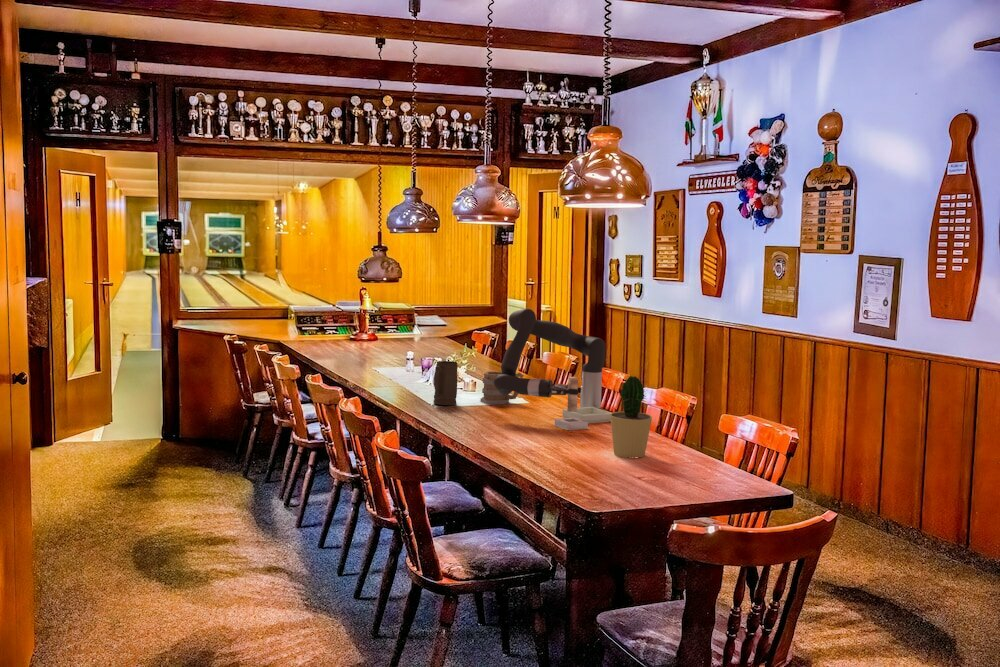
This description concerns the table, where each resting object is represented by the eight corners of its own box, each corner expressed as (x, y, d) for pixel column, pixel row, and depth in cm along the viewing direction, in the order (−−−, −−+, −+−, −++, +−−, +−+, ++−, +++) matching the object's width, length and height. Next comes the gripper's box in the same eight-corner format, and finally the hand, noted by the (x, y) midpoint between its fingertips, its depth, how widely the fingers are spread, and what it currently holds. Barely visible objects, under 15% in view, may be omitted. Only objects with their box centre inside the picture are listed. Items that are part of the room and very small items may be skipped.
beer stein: (439, 401, 441) (440, 359, 439) (460, 403, 438) (461, 361, 436) (426, 406, 427) (427, 363, 425) (447, 408, 423) (449, 365, 421)
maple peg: (565, 410, 391) (566, 377, 389) (573, 409, 393) (574, 376, 391) (570, 412, 388) (572, 378, 386) (578, 411, 390) (580, 378, 388)
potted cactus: (601, 451, 350) (604, 371, 346) (637, 448, 355) (641, 371, 352) (620, 460, 335) (624, 378, 332) (657, 458, 341) (662, 377, 337)
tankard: (478, 403, 440) (478, 371, 438) (486, 398, 452) (487, 368, 450) (518, 406, 434) (519, 374, 433) (525, 402, 446) (526, 371, 445)
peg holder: (554, 425, 393) (554, 418, 392) (574, 424, 398) (574, 417, 397) (567, 430, 384) (567, 423, 384) (587, 428, 389) (587, 421, 389)
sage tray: (562, 416, 413) (562, 409, 412) (592, 414, 420) (592, 406, 420) (583, 423, 399) (583, 415, 398) (613, 421, 407) (613, 413, 406)
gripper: (535, 381, 387) (575, 385, 381) (545, 376, 400) (584, 379, 395) (534, 399, 388) (574, 403, 382) (545, 393, 401) (583, 397, 395)
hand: (579, 391), depth 388 cm, fingers closed on maple peg, 4 cm apart
